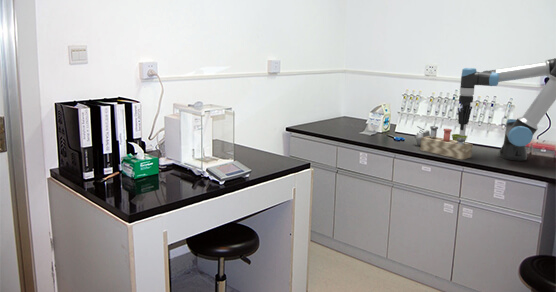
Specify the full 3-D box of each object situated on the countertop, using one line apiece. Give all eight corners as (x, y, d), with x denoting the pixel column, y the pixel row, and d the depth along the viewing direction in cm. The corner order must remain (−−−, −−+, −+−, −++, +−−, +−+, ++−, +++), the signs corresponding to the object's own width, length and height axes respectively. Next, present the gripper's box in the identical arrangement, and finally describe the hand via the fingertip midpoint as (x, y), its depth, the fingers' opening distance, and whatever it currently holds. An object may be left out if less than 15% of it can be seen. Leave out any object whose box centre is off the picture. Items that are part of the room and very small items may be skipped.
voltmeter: (435, 148, 288) (437, 133, 286) (418, 148, 287) (419, 133, 285) (420, 139, 314) (421, 125, 311) (404, 139, 313) (405, 125, 311)
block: (471, 157, 268) (472, 144, 266) (462, 159, 262) (464, 146, 260) (429, 147, 289) (430, 135, 287) (420, 150, 282) (421, 137, 280)
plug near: (464, 154, 268) (466, 138, 266) (460, 155, 265) (462, 139, 263) (457, 152, 271) (459, 137, 269) (453, 153, 268) (455, 138, 266)
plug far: (437, 142, 280) (439, 127, 278) (433, 143, 277) (435, 127, 275) (431, 140, 284) (432, 125, 281) (427, 141, 281) (428, 126, 279)
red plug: (451, 145, 274) (453, 129, 271) (447, 145, 271) (449, 130, 268) (444, 143, 277) (446, 128, 275) (440, 144, 274) (442, 129, 272)
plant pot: (467, 151, 283) (468, 137, 281) (451, 149, 285) (452, 136, 283) (464, 147, 292) (465, 134, 290) (448, 146, 294) (450, 133, 292)
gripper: (465, 93, 267) (461, 133, 272) (454, 95, 259) (450, 135, 264) (478, 95, 261) (473, 135, 267) (466, 96, 253) (462, 137, 258)
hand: (462, 135), depth 265 cm, fingers closed
